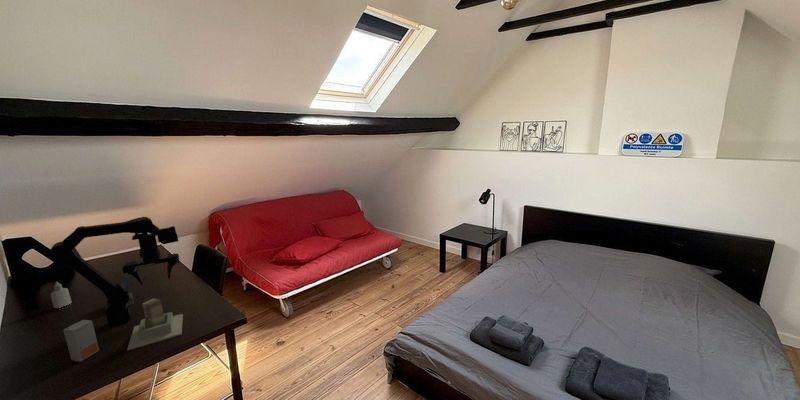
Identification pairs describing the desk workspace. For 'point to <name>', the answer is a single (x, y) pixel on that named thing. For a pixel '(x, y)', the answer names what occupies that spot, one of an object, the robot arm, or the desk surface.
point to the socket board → (156, 331)
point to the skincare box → (81, 340)
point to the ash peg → (153, 313)
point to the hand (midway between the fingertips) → (156, 281)
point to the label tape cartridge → (127, 283)
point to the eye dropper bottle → (60, 296)
